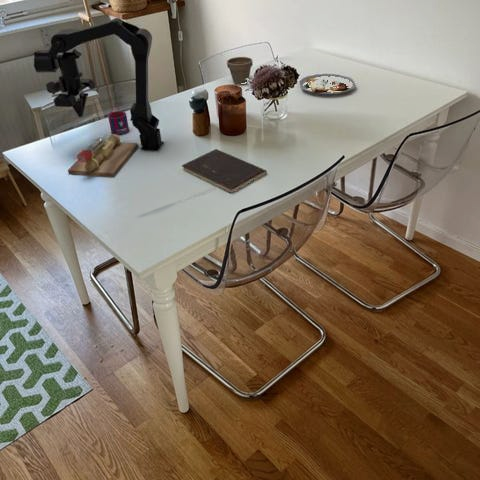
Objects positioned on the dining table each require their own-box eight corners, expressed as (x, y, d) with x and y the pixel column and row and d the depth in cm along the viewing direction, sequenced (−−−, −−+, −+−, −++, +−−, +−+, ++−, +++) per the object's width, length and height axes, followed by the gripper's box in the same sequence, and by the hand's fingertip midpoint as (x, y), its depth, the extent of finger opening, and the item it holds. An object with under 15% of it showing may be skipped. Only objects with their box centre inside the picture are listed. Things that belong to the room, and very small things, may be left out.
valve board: (138, 146, 184) (135, 130, 180) (113, 177, 167) (110, 160, 163) (97, 144, 187) (93, 128, 183) (68, 174, 170) (64, 157, 166)
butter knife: (220, 189, 157) (215, 185, 159) (139, 220, 146) (135, 215, 148) (220, 191, 158) (215, 186, 160) (139, 221, 147) (135, 216, 149)
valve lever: (99, 142, 175) (98, 136, 173) (106, 142, 174) (105, 136, 173) (78, 161, 164) (76, 155, 162) (86, 162, 163) (84, 156, 162)
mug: (114, 136, 192) (111, 119, 188) (106, 127, 199) (102, 110, 195) (131, 132, 194) (128, 115, 190) (122, 123, 201) (119, 106, 197)
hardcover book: (231, 195, 156) (230, 189, 154) (182, 171, 169) (181, 165, 168) (266, 175, 164) (266, 169, 163) (217, 154, 178) (217, 148, 177)
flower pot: (226, 79, 236) (225, 57, 230) (251, 77, 237) (250, 55, 231) (229, 88, 227) (228, 65, 221) (254, 86, 228) (254, 63, 222)
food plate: (359, 97, 212) (359, 88, 210) (302, 99, 213) (302, 91, 211) (349, 78, 233) (349, 70, 231) (297, 80, 234) (297, 72, 232)
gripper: (61, 61, 178) (71, 105, 187) (33, 80, 163) (46, 126, 172) (90, 62, 175) (100, 106, 185) (65, 81, 161) (76, 128, 170)
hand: (80, 116), depth 178 cm, fingers closed
